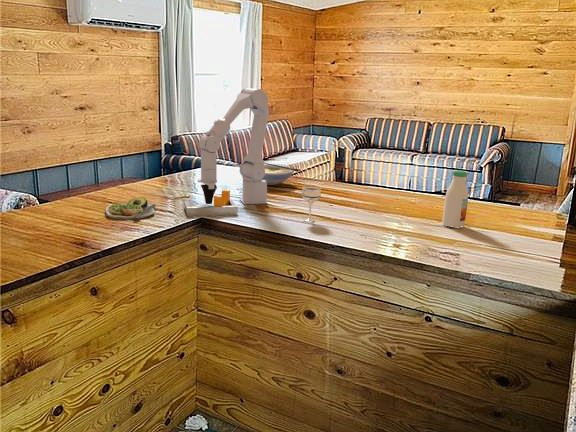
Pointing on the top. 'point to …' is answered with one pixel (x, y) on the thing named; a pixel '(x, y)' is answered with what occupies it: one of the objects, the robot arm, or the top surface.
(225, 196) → the pipe clamp
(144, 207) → the salad plate
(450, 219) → the milk bottle
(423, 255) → the top surface
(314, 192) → the wineglass
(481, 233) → the top surface
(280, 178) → the ramen bowl
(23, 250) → the top surface
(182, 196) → the brass spoon
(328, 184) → the top surface
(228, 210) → the hitch bracket
